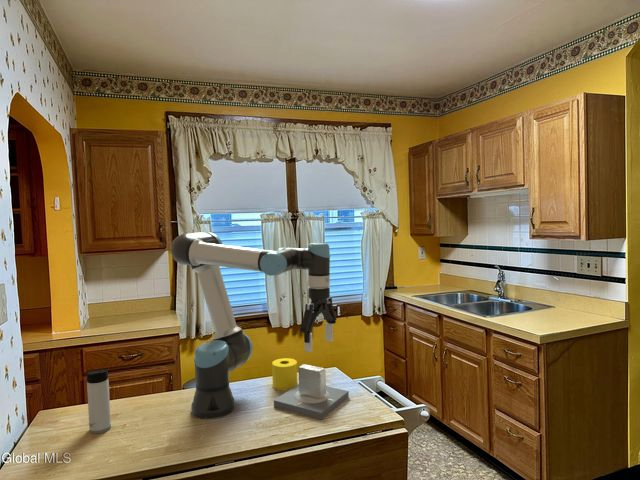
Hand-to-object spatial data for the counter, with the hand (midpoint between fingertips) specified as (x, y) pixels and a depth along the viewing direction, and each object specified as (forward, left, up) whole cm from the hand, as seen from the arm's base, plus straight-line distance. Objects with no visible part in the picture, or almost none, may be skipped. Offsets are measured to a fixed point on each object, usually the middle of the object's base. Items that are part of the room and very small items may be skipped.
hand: (319, 346), depth 154 cm
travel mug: (-55, -49, -23) cm, 77 cm away
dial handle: (-5, +2, -19) cm, 20 cm away
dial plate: (-5, +2, -22) cm, 23 cm away
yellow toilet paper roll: (-23, +10, -23) cm, 34 cm away
